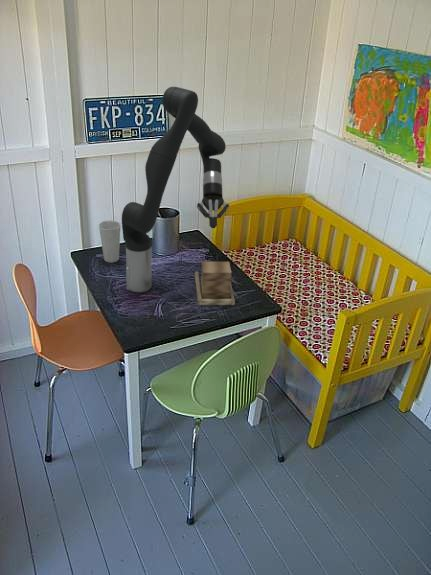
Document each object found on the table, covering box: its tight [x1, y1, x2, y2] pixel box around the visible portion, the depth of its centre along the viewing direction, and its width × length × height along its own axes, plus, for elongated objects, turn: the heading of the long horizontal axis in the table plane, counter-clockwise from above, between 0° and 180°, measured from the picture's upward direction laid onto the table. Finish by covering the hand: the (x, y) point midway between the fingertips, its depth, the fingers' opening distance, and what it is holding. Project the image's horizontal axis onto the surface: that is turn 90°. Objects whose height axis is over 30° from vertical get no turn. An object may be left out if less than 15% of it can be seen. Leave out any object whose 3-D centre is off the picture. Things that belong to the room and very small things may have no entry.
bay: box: [194, 271, 236, 306], centre depth 206 cm, size 18×21×3 cm
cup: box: [98, 220, 122, 264], centre depth 220 cm, size 8×8×16 cm
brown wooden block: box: [200, 261, 233, 299], centre depth 200 cm, size 10×8×12 cm
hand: (213, 227), depth 208 cm, fingers closed
